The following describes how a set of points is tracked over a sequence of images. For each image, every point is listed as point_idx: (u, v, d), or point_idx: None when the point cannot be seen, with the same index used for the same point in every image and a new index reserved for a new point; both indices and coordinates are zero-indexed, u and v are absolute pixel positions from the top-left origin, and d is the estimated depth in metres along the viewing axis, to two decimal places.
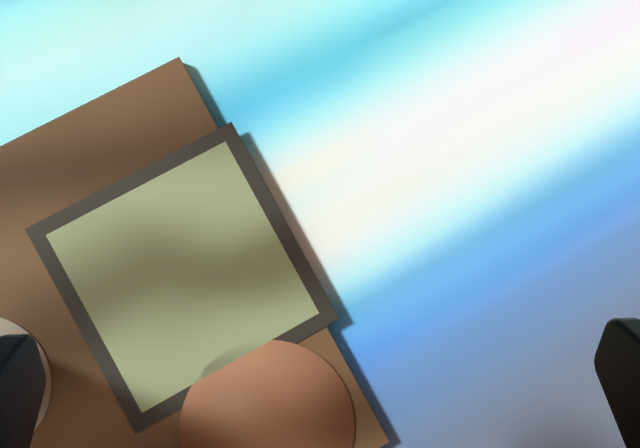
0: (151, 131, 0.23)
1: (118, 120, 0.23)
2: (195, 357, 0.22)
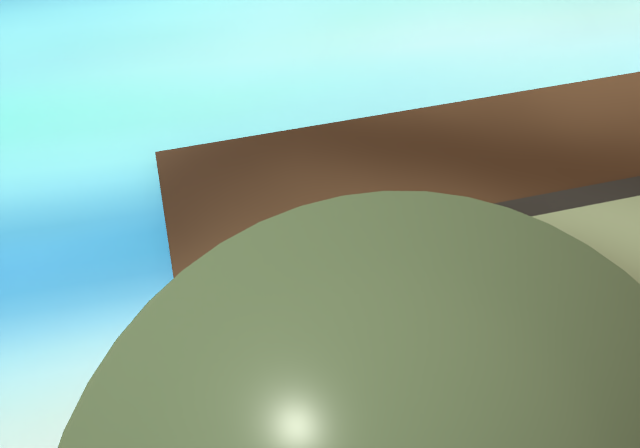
0: (607, 144, 0.17)
1: (569, 120, 0.17)
2: None
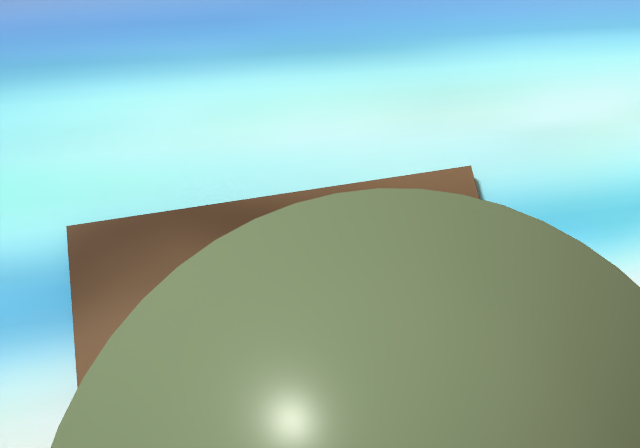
0: None
1: None
2: None
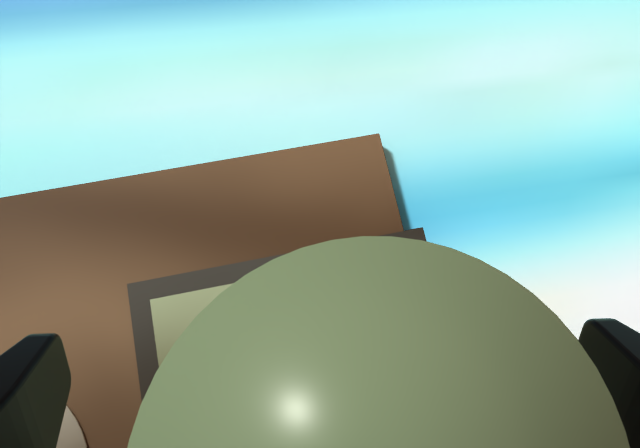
0: (320, 210, 0.18)
1: (285, 185, 0.18)
2: None
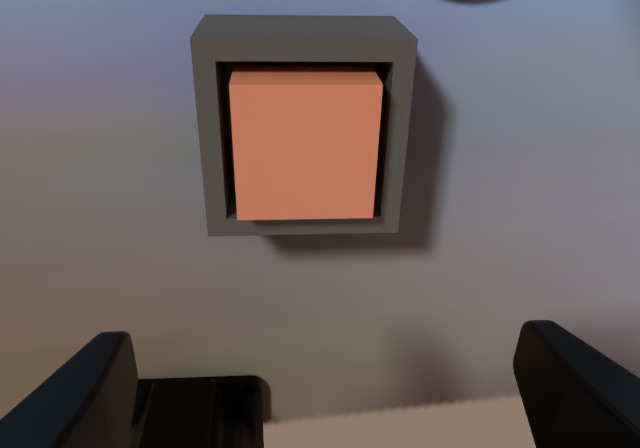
0: None
1: None
2: None
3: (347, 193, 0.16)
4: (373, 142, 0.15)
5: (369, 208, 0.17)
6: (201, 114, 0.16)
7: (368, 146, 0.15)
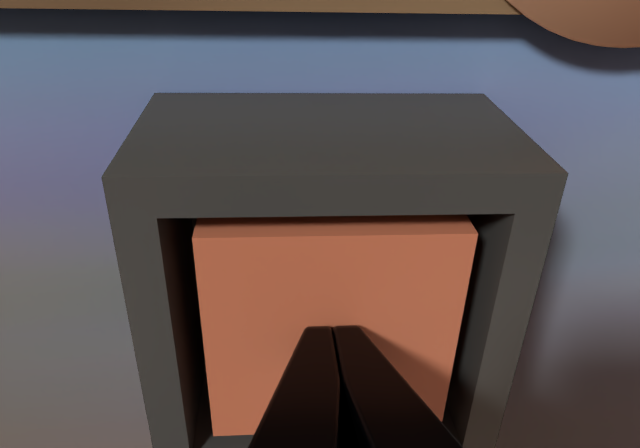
0: None
1: None
2: None
3: None
4: (452, 321, 0.09)
5: (436, 414, 0.10)
6: (135, 307, 0.08)
7: (443, 328, 0.09)
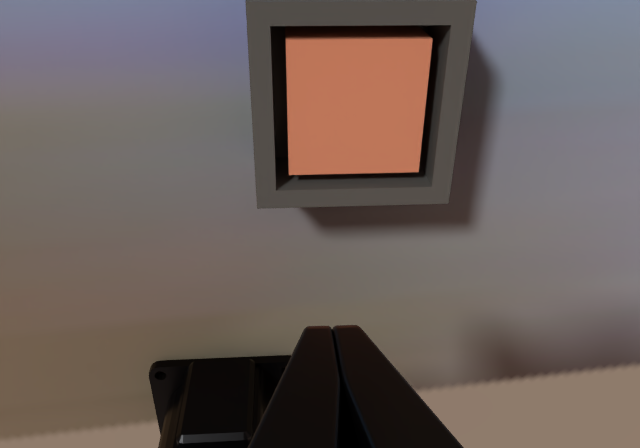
0: None
1: None
2: None
3: (395, 147, 0.17)
4: (421, 96, 0.16)
5: (415, 162, 0.17)
6: (254, 81, 0.15)
7: (416, 100, 0.16)
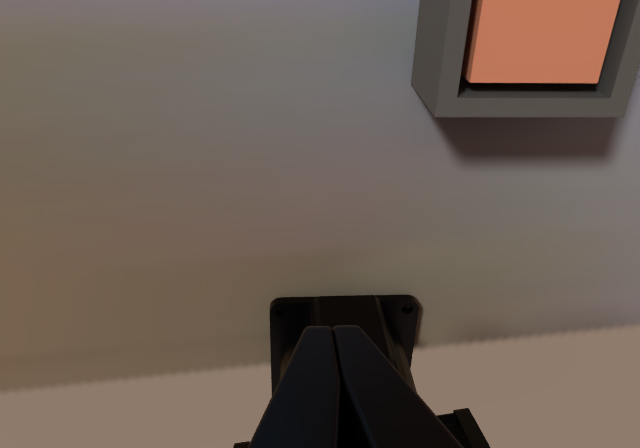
0: None
1: None
2: None
3: (579, 55, 0.17)
4: (615, 0, 0.16)
5: (596, 72, 0.17)
6: None
7: (610, 4, 0.16)
